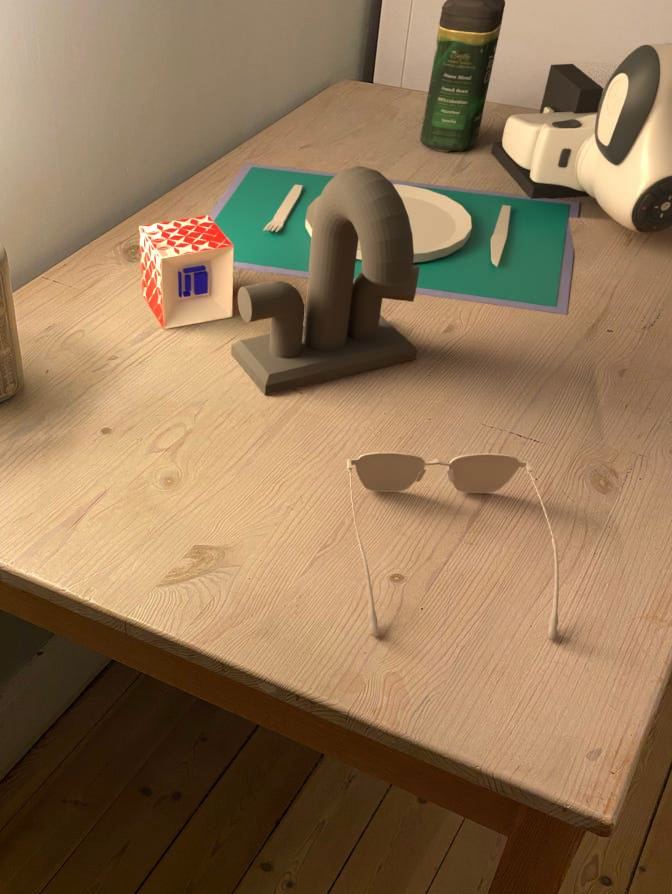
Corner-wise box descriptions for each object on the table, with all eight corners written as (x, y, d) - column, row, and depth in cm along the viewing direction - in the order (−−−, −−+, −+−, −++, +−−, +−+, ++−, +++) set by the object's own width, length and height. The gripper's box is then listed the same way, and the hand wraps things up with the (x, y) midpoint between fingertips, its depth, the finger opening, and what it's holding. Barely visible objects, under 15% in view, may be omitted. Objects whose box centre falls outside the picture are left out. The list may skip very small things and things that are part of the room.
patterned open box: (208, 284, 108) (208, 215, 103) (232, 316, 103) (233, 245, 98) (141, 296, 107) (138, 226, 101) (162, 329, 102) (160, 258, 96)
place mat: (176, 264, 113) (176, 246, 111) (245, 168, 133) (246, 151, 131) (564, 320, 103) (570, 301, 102) (577, 207, 123) (583, 189, 121)
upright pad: (580, 172, 124) (604, 88, 117) (558, 173, 124) (580, 89, 117) (552, 144, 131) (572, 63, 124) (531, 145, 131) (550, 64, 124)
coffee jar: (468, 157, 133) (498, 3, 119) (413, 149, 135) (437, -4, 121) (483, 134, 139) (514, -16, 125) (431, 126, 141) (455, -22, 127)
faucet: (292, 437, 88) (310, 223, 73) (225, 355, 98) (229, 151, 83) (459, 395, 92) (506, 184, 78) (378, 320, 102) (407, 121, 88)
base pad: (619, 194, 124) (629, 162, 121) (530, 199, 123) (538, 167, 120) (572, 148, 135) (580, 117, 132) (490, 152, 134) (497, 122, 131)
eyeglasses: (519, 491, 82) (530, 453, 79) (567, 643, 70) (582, 605, 67) (342, 488, 83) (347, 451, 80) (359, 639, 71) (365, 601, 68)
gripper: (698, 119, 113) (647, 82, 123) (533, 128, 112) (495, 89, 121) (679, 174, 118) (631, 134, 127) (520, 183, 116) (484, 141, 126)
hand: (563, 112), depth 124 cm, fingers closed on upright pad, 3 cm apart
